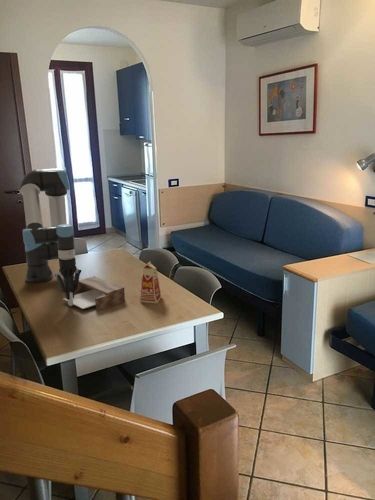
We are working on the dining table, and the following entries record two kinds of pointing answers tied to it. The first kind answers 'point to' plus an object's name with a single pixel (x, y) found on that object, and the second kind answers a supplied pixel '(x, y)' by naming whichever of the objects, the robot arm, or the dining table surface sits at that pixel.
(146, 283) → the milk carton
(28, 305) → the dining table surface
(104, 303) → the overhang shelf
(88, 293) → the plate
